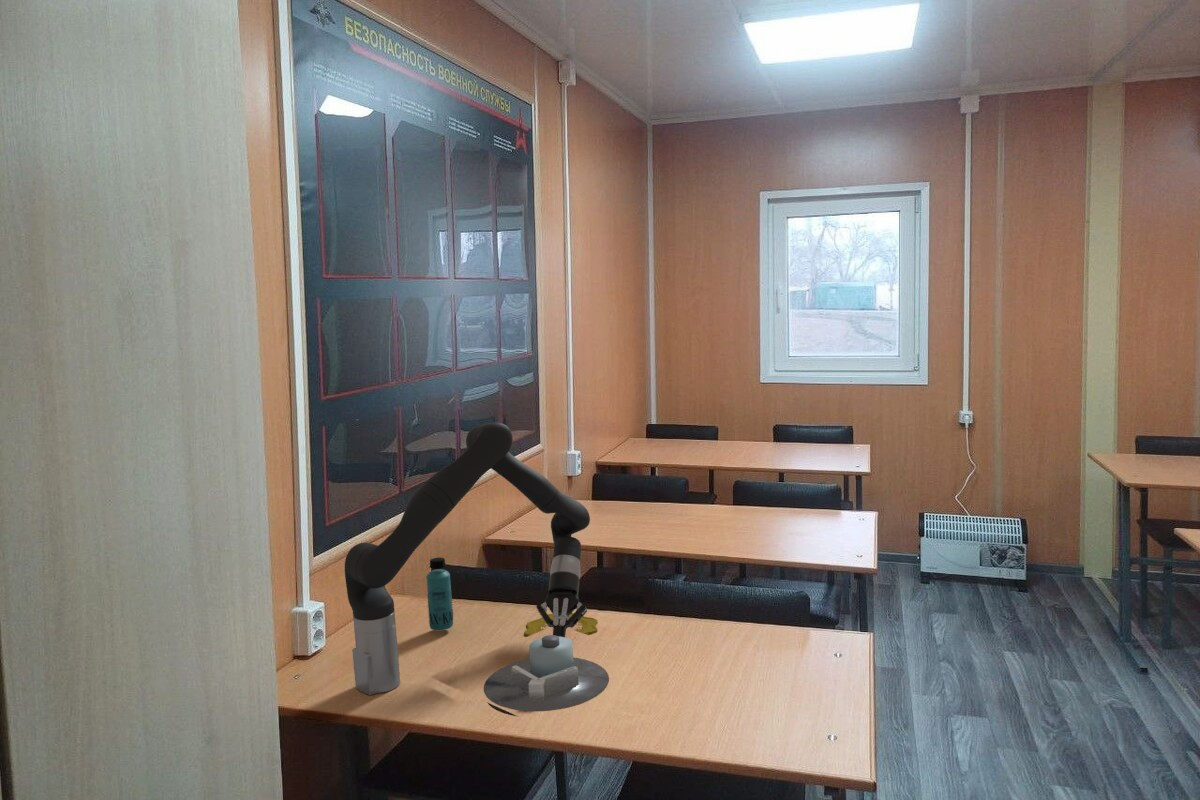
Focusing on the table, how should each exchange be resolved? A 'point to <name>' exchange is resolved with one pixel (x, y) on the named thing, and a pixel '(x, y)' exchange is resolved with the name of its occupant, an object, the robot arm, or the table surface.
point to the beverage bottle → (439, 596)
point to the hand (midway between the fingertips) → (558, 642)
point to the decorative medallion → (537, 624)
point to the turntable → (545, 686)
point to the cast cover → (550, 655)
